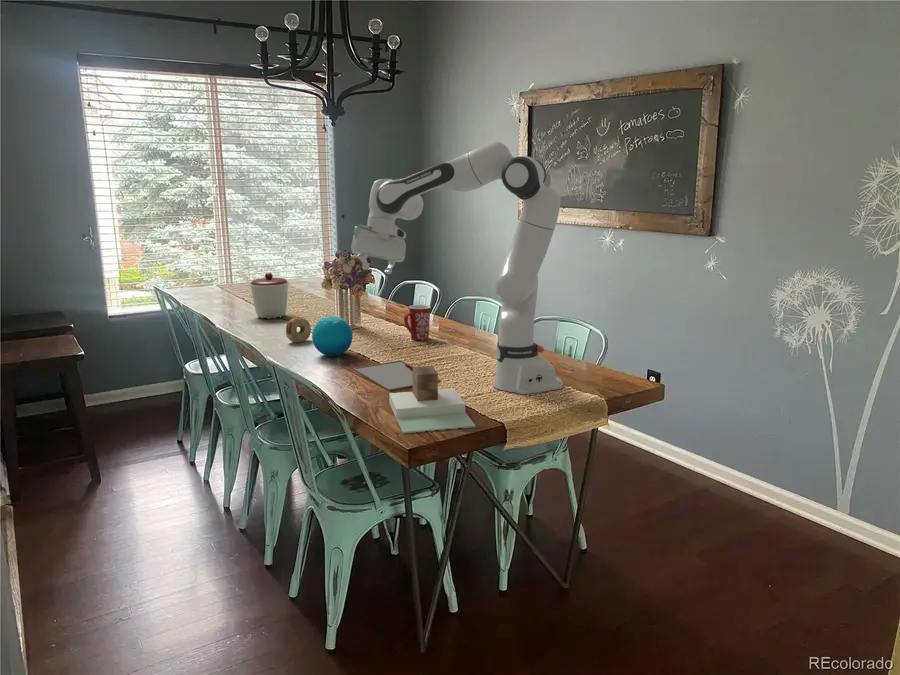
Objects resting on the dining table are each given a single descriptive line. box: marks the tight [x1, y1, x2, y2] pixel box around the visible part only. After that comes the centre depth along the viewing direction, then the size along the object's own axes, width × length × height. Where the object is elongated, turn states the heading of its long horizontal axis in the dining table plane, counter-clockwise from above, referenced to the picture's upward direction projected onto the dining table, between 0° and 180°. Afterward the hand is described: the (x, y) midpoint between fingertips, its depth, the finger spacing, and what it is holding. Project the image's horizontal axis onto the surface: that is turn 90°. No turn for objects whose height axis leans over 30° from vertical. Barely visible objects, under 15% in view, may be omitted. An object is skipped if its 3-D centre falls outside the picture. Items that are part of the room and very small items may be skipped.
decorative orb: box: [311, 315, 353, 357], centre depth 253 cm, size 15×15×15 cm
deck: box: [388, 388, 466, 420], centre depth 199 cm, size 20×14×3 cm
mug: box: [403, 304, 432, 341], centre depth 277 cm, size 13×9×14 cm
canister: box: [248, 272, 290, 319], centre depth 318 cm, size 18×18×21 cm
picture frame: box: [352, 359, 442, 392], centre depth 231 cm, size 19×1×28 cm
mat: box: [396, 412, 476, 435], centre depth 187 cm, size 20×10×1 cm, turn 103°
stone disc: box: [285, 316, 312, 343], centre depth 274 cm, size 10×4×10 cm, turn 131°
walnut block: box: [412, 365, 439, 401], centre depth 200 cm, size 6×8×8 cm
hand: (376, 271), depth 220 cm, fingers open, 8 cm apart
